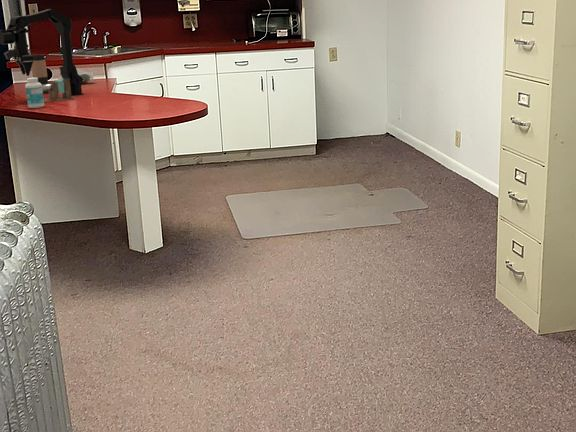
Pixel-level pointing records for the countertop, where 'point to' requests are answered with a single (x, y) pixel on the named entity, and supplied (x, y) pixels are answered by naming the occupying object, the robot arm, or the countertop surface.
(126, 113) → the countertop surface
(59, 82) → the collar
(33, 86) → the pill bottle
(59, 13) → the robot arm
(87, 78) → the sculpture
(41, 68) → the travel mug
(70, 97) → the bearing stand
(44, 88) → the shaft
